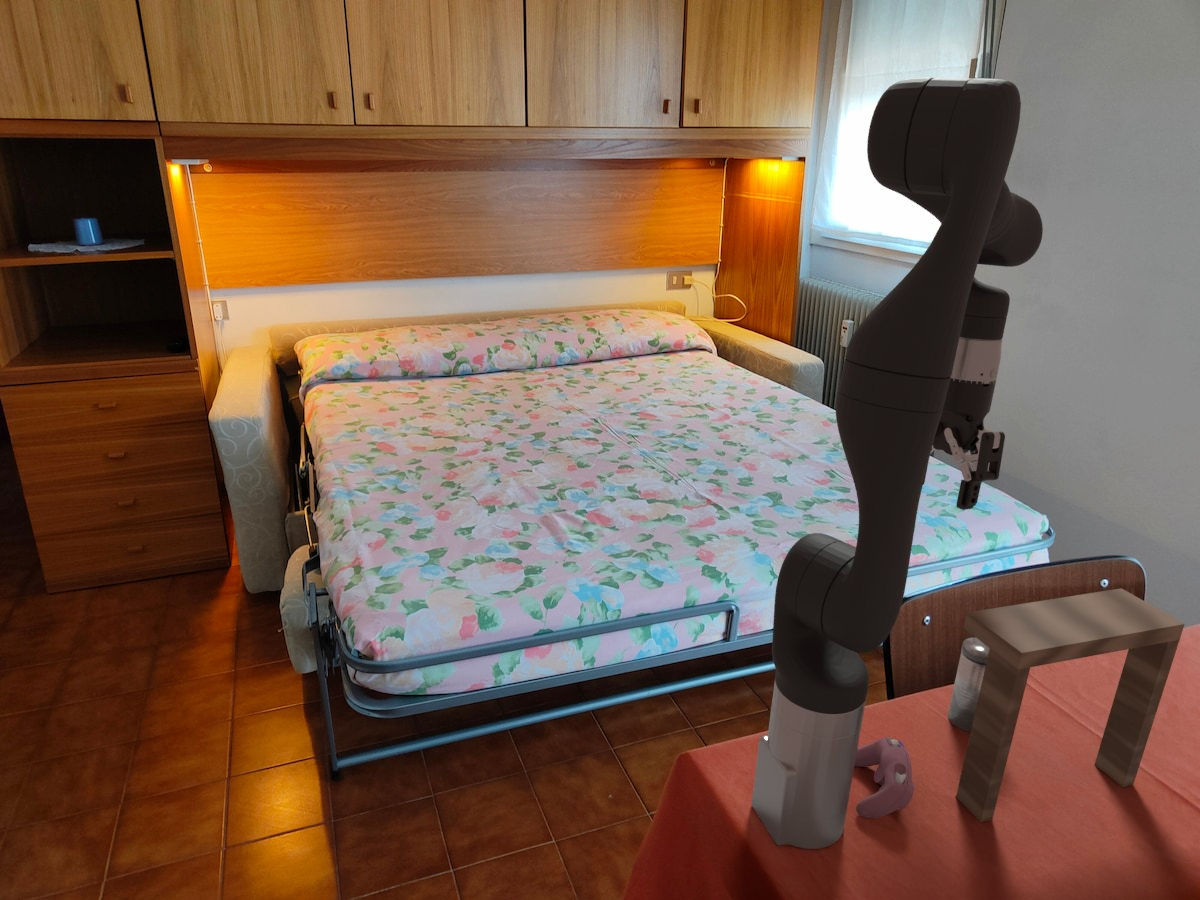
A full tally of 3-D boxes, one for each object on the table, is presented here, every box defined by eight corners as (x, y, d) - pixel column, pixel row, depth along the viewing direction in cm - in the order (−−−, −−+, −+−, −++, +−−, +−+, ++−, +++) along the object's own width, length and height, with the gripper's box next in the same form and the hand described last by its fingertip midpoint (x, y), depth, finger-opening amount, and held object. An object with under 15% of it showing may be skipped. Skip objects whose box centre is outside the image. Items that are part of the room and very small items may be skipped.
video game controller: (888, 836, 91) (927, 796, 88) (852, 815, 91) (891, 774, 88) (877, 774, 100) (912, 736, 97) (844, 755, 100) (879, 716, 97)
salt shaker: (965, 735, 105) (981, 662, 101) (939, 711, 109) (954, 640, 105) (996, 728, 106) (1013, 656, 102) (969, 705, 110) (985, 635, 107)
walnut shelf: (980, 822, 91) (1021, 652, 83) (933, 772, 98) (967, 612, 90) (1133, 784, 97) (1184, 623, 90) (1078, 740, 104) (1121, 588, 97)
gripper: (899, 361, 105) (878, 480, 110) (986, 386, 93) (959, 519, 98) (944, 360, 108) (922, 477, 113) (1034, 384, 96) (1005, 514, 100)
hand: (939, 496), depth 105 cm, fingers open, 8 cm apart
